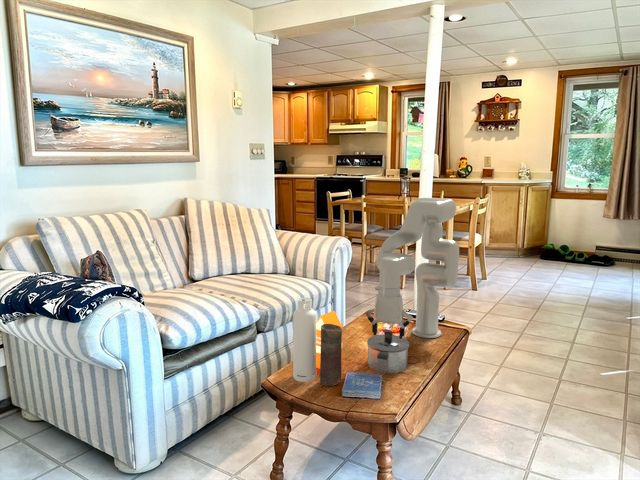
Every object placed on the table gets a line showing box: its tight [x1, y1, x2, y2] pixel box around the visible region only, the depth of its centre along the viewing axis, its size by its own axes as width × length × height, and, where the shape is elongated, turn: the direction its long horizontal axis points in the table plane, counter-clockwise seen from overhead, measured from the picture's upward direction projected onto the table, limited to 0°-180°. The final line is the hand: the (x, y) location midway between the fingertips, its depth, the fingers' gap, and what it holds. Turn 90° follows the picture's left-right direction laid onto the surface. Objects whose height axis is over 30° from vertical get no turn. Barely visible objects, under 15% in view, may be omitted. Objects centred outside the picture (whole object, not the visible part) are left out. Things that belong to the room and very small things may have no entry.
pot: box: [367, 345, 409, 374], centre depth 176 cm, size 19×14×8 cm
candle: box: [319, 324, 343, 386], centre depth 161 cm, size 8×7×20 cm
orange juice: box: [316, 310, 343, 370], centre depth 175 cm, size 8×9×20 cm
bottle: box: [292, 297, 318, 383], centre depth 164 cm, size 8×8×28 cm
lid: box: [366, 329, 410, 353], centre depth 175 cm, size 15×15×5 cm
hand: (388, 335), depth 175 cm, fingers open, 9 cm apart
